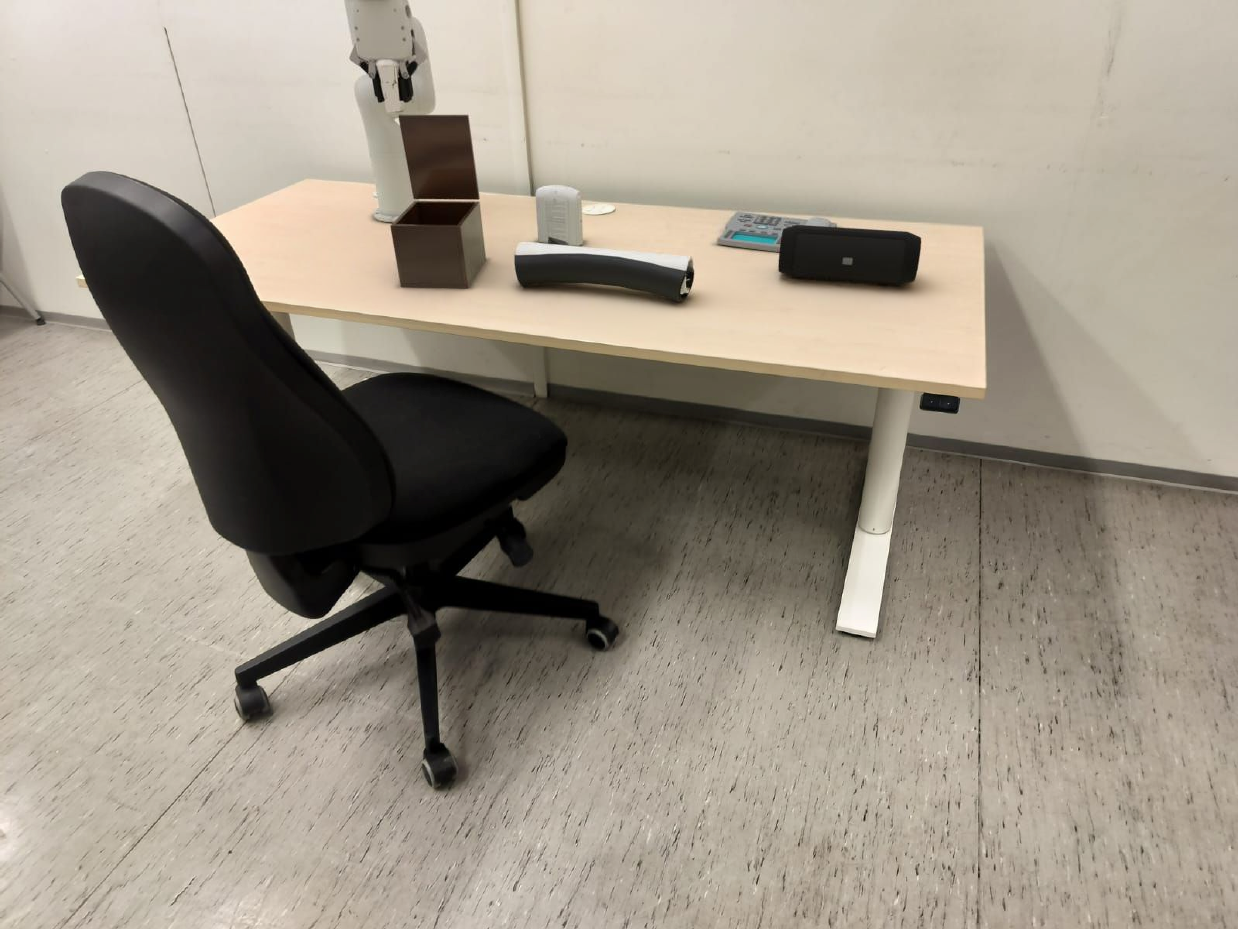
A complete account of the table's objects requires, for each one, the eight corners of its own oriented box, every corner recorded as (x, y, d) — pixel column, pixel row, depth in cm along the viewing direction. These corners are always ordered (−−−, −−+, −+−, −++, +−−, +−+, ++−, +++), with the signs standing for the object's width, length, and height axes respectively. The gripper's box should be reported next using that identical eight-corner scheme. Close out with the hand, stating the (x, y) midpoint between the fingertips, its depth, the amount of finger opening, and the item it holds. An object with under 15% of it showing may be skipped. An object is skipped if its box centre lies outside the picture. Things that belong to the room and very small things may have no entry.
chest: (468, 288, 166) (460, 226, 159) (400, 287, 168) (390, 225, 161) (486, 259, 179) (479, 201, 172) (423, 258, 180) (414, 200, 174)
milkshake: (415, 108, 157) (408, 49, 151) (397, 114, 153) (389, 53, 147) (395, 106, 159) (387, 47, 153) (377, 112, 155) (368, 51, 149)
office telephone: (838, 216, 190) (820, 245, 175) (836, 228, 192) (819, 258, 176) (737, 205, 198) (712, 232, 182) (736, 216, 199) (711, 244, 184)
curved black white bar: (691, 316, 161) (705, 254, 165) (685, 291, 152) (699, 226, 156) (520, 298, 170) (537, 240, 174) (505, 273, 161) (523, 212, 165)
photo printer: (586, 241, 187) (583, 184, 181) (579, 247, 184) (576, 190, 177) (542, 237, 190) (538, 181, 183) (535, 243, 187) (531, 186, 180)
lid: (467, 115, 161) (468, 114, 162) (398, 115, 163) (399, 114, 163) (478, 199, 172) (479, 198, 172) (413, 199, 173) (414, 197, 174)
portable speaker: (776, 284, 165) (780, 233, 159) (781, 265, 173) (785, 217, 167) (913, 294, 159) (923, 242, 154) (912, 275, 167) (921, 225, 162)
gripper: (431, -17, 147) (445, 96, 157) (338, -16, 149) (358, 96, 159) (418, -13, 141) (434, 105, 151) (321, -12, 142) (343, 105, 153)
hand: (395, 99), depth 155 cm, fingers closed on milkshake, 4 cm apart
